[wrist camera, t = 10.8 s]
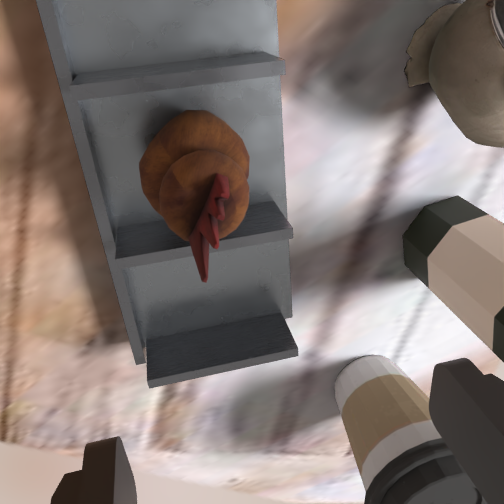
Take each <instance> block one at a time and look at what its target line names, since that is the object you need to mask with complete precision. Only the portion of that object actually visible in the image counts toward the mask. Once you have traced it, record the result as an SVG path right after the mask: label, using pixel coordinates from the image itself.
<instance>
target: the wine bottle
mask: <svg viewBox="0 0 504 504" xmlns="http://www.w3.org/2000/svg"><path fill="white" fill-rule="evenodd" d="M403 247H404V261H405V265H406V266H407V267H408V268H409V269H410V270H411V271H412V272H413V273H414V274H415V275H416V276H417V277H418V278H419V279H420V280H421V281H422V282H423V283H424V284H425V285H426V286H427V287H428V288H429V289H430V290H431V291H432V292H433V293H434V294H435V295H436V296H437V297H438V298H439V299H440V300H441V301H442V302H443V303H444V304H445V305H446V306H447V307H448V308H449V309H450V310H451V311H452V312H453V313H454V314H455V315H456V316H457V317H458V318H459V319H460V320H461V321H462V322H463V323H464V324H465V325H466V326H467V327H468V328H469V329H470V330H471V331H472V332H473V333H474V334H475V335H476V336H477V337H478V338H479V339H480V340H482V341H483V342H484V343H485V344H486V345H487V346H488V347H489V348H490V349H491V350H492V351H493V352H494V353H495V354H496V355H497V356H498V357H499V358H500V359H501V360H502V361H503V362H504V223H502V222H500V221H499V220H497V219H495V218H494V217H492V216H490V215H489V214H487V213H486V212H484V211H482V210H481V209H479V208H477V207H476V206H474V205H472V204H471V203H469V202H468V201H466V200H464V199H463V198H461V197H459V196H455V197H452V198H449V199H446V200H443V201H440V202H437V203H434V204H430V205H427V206H425V207H424V208H423V209H422V211H421V212H420V213H419V215H418V216H417V217H416V219H415V220H414V221H413V223H412V224H411V225H410V227H409V228H408V229H407V231H406V232H405V233H404V235H403Z"/></svg>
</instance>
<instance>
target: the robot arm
mask: <svg viewBox="0 0 504 504" xmlns="http://www.w3.org/2000/svg"><path fill="white" fill-rule="evenodd" d="M429 413H430V417H431V420H432V422H433V425H434V426H435V428H436V430H437V431H438V433H439V434H440V436H441V437H442V439H443V440H444V441H445V443H446V444H447V446H448V447H449V449H450V450H451V452H452V453H453V454H454V456H455V457H456V459H457V460H458V462H459V463H460V465H461V466H462V467H463V469H464V470H465V472H466V473H467V475H468V476H469V478H470V479H471V480H472V482H473V483H474V485H475V486H476V488H477V489H478V491H479V492H480V493H481V495H482V496H483V498H484V499H485V501H486V502H487V503H488V504H504V381H503V380H501V379H499V378H498V377H496V376H494V375H493V374H487V375H483V374H482V372H481V371H480V370H479V369H478V368H477V367H476V366H475V365H474V364H473V363H472V362H471V361H470V360H469V359H467V358H461V359H456V360H452V361H448V362H443V363H439V364H436V365H435V367H434V371H433V378H432V385H431V392H430V399H429ZM51 504H137V494H136V486H135V481H134V476H133V473H132V470H131V467H130V464H129V461H128V458H127V455H126V452H125V449H124V446H123V443H122V440H121V438H120V437H119V436H118V437H113V438H109V439H105V440H100V441H96V442H92V443H88V444H86V446H85V450H84V458H83V466H82V470H79V471H75V472H71V473H67V474H65V475H64V476H63V478H62V480H61V482H60V483H59V485H58V487H57V489H56V491H55V493H54V494H53V496H52V498H51Z"/></svg>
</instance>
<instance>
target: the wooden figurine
mask: <svg viewBox="0 0 504 504" xmlns="http://www.w3.org/2000/svg"><path fill="white" fill-rule="evenodd" d="M249 162H250V156H249V154H248V151H247V149H246V147H245V144H244V142H243V140H242V138H241V137H240V136H239V135H238V134H237V133H236V132H235V131H234V130H233V129H232V128H231V127H230V126H229V125H228V124H227V123H226V122H225V121H223V120H222V119H220V118H219V117H217V116H215V115H214V114H212V113H210V112H209V111H207V110H185V111H184V112H182V113H180V114H179V115H177V116H175V117H174V118H172V119H171V120H170V121H169V122H168V123H167V124H166V125H165V126H164V127H163V128H162V129H161V130H160V131H159V132H158V133H157V134H156V136H155V137H154V138H153V139H152V141H151V142H150V143H149V145H148V147H147V149H146V151H145V152H144V154H143V156H142V158H141V160H140V162H139V172H140V179H141V186H142V190H143V193H144V195H145V196H146V198H147V199H148V201H149V202H150V204H151V206H152V207H153V208H154V210H155V211H156V212H158V213H159V214H160V215H161V216H162V217H163V218H164V220H165V222H166V223H167V225H168V227H169V228H170V229H171V230H172V231H173V232H174V233H176V234H177V235H178V236H179V237H181V238H182V239H183V240H185V241H189V242H190V246H191V249H192V253H193V256H194V259H195V262H196V265H197V268H198V271H199V274H200V278H201V281H202V282H205V283H206V282H207V280H208V267H209V243H210V245H211V246H212V247H213V248H214V249H218V247H219V239H221V238H224V237H226V236H227V235H229V234H230V233H231V232H233V231H234V230H236V229H237V227H238V226H239V224H240V223H241V222H242V220H243V219H244V217H245V214H246V211H247V208H248V205H249V185H248V182H247V179H248V176H249Z"/></svg>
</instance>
